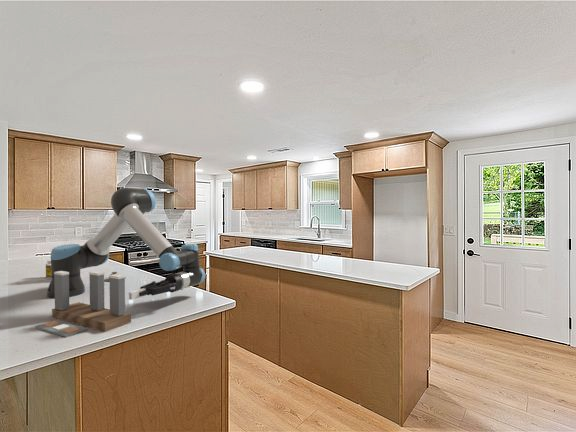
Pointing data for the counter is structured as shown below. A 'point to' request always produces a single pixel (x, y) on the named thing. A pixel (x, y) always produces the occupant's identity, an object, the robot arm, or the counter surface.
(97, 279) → the key middle
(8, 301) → the counter surface
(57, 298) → the key inner
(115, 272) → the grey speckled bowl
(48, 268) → the supplement bottle
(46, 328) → the pattern card
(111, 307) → the key outer
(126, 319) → the brown wooden board
